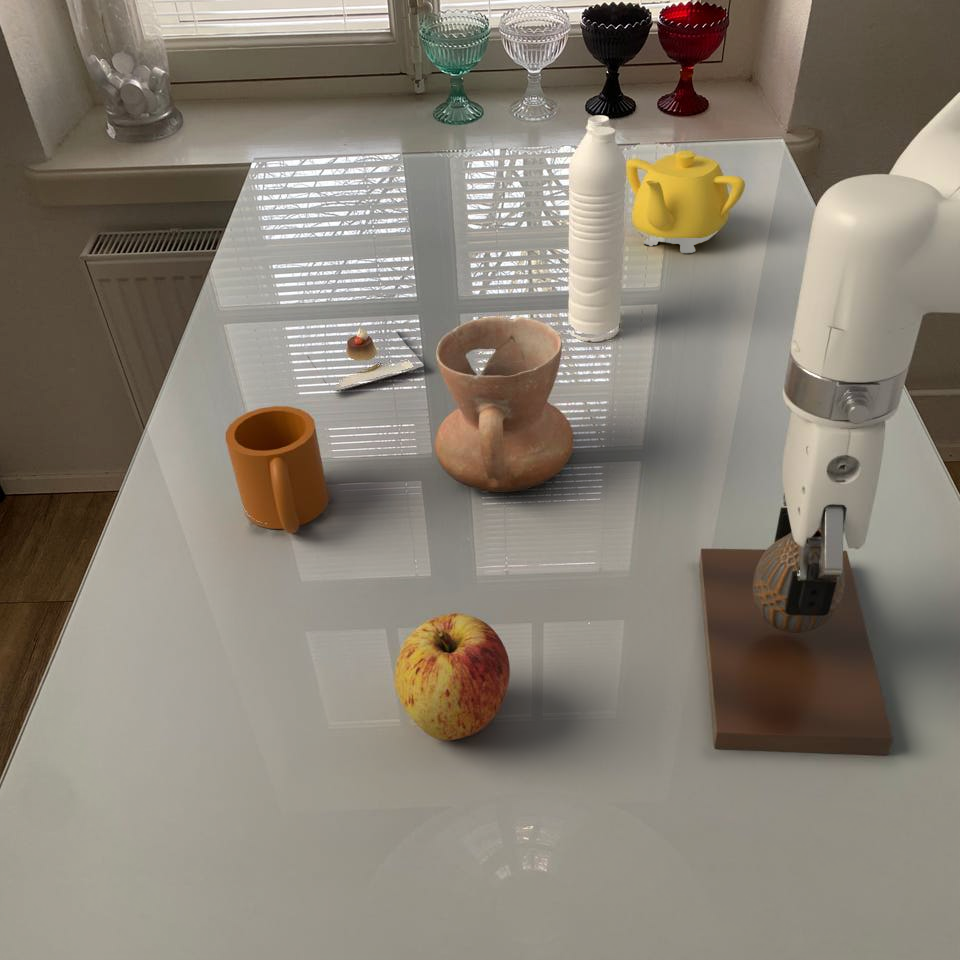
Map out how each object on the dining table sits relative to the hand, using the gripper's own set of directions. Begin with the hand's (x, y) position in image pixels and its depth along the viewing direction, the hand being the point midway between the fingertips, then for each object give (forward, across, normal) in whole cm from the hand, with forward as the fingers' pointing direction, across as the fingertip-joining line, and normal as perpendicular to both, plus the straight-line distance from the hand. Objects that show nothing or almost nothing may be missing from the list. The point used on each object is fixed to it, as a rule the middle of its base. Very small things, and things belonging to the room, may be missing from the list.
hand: (800, 578), depth 78 cm
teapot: (+8, +81, +7) cm, 82 cm away
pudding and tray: (+8, +48, +46) cm, 67 cm away
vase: (+4, 0, 0) cm, 4 cm away
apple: (+8, -9, +27) cm, 30 cm away
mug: (+8, +18, +48) cm, 52 cm away
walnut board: (+8, 0, 0) cm, 8 cm away
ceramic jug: (+8, +26, +26) cm, 38 cm away
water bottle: (+8, +55, +17) cm, 58 cm away
